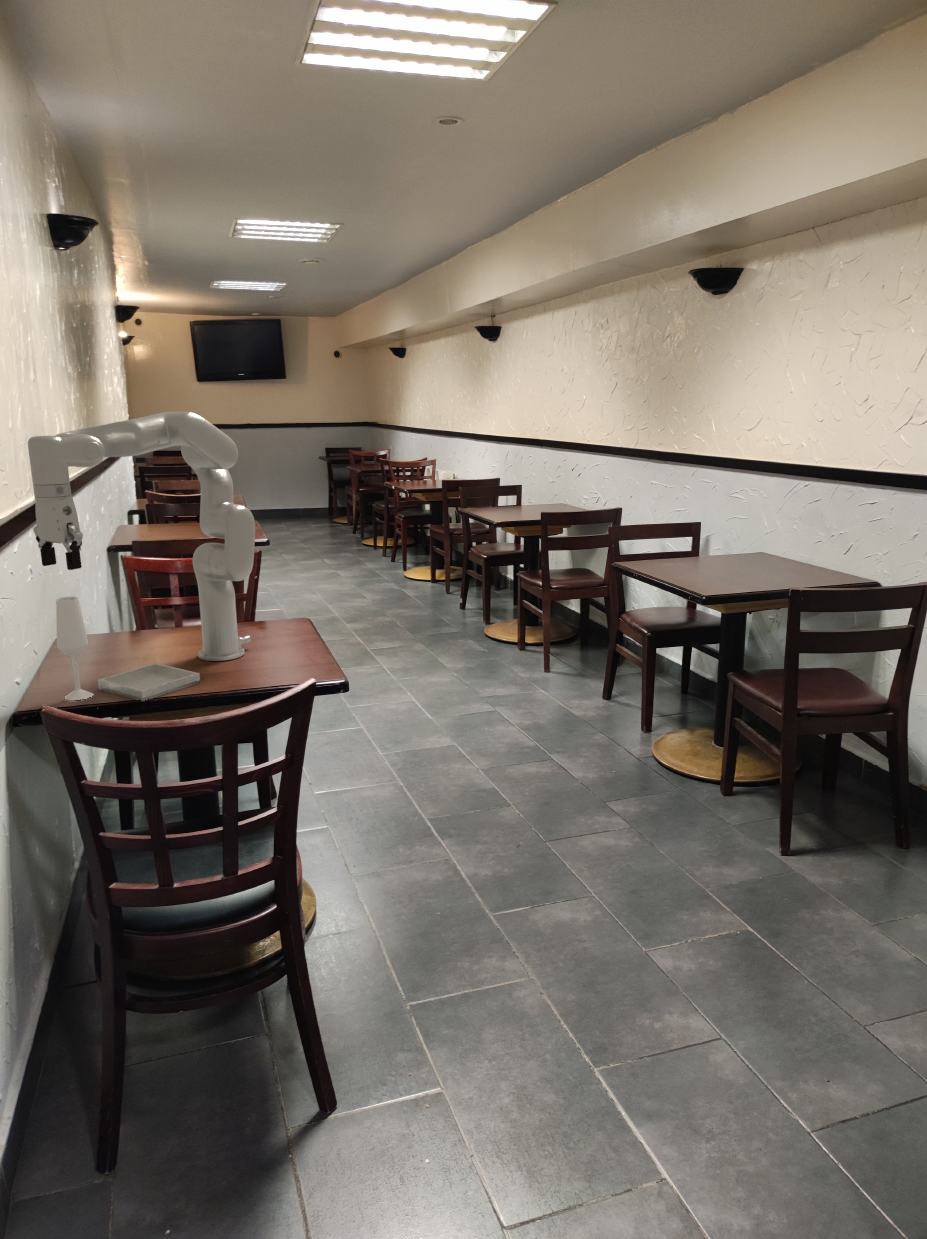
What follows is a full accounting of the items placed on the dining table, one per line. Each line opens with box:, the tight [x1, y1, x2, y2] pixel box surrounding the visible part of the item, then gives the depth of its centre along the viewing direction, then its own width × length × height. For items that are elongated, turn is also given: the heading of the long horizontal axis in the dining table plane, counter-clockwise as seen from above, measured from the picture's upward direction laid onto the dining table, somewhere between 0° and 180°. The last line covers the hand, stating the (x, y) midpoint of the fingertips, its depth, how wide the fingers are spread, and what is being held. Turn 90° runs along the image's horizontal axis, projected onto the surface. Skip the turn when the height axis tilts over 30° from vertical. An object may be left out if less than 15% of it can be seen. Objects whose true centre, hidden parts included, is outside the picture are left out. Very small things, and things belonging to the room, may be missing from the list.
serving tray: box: [97, 662, 201, 702], centre depth 211 cm, size 17×17×2 cm
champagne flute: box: [55, 596, 95, 700], centre depth 200 cm, size 7×7×24 cm
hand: (61, 566), depth 195 cm, fingers open, 9 cm apart
